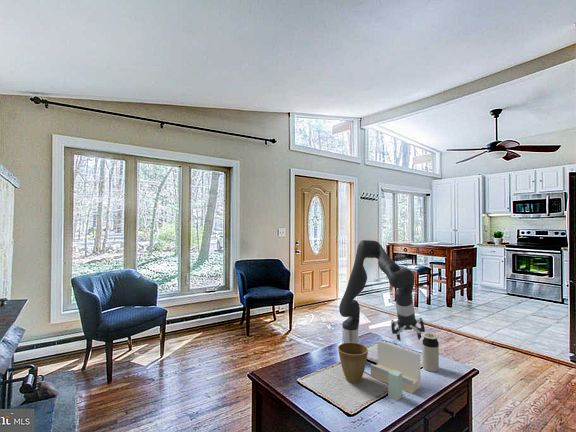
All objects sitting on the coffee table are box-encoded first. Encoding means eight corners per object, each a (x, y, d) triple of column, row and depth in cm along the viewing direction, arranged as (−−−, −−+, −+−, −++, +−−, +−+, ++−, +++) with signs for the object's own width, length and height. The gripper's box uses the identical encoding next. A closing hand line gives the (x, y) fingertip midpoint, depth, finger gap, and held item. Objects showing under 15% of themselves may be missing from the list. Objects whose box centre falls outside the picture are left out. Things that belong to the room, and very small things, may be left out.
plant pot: (368, 373, 164) (368, 343, 164) (367, 389, 149) (367, 356, 149) (339, 370, 168) (339, 340, 168) (336, 385, 153) (336, 352, 153)
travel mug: (421, 369, 168) (421, 336, 168) (424, 363, 174) (424, 331, 174) (437, 373, 163) (437, 339, 163) (439, 367, 170) (439, 334, 170)
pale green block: (397, 400, 141) (397, 376, 140) (388, 396, 144) (388, 372, 144) (402, 396, 144) (402, 372, 144) (393, 392, 147) (393, 369, 147)
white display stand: (412, 393, 146) (412, 359, 145) (370, 376, 162) (370, 345, 161) (420, 386, 152) (420, 353, 152) (379, 369, 168) (379, 340, 168)
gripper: (420, 303, 142) (423, 332, 147) (387, 306, 145) (392, 334, 150) (424, 314, 135) (427, 343, 140) (390, 316, 138) (394, 345, 143)
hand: (409, 339), depth 145 cm, fingers open, 8 cm apart
